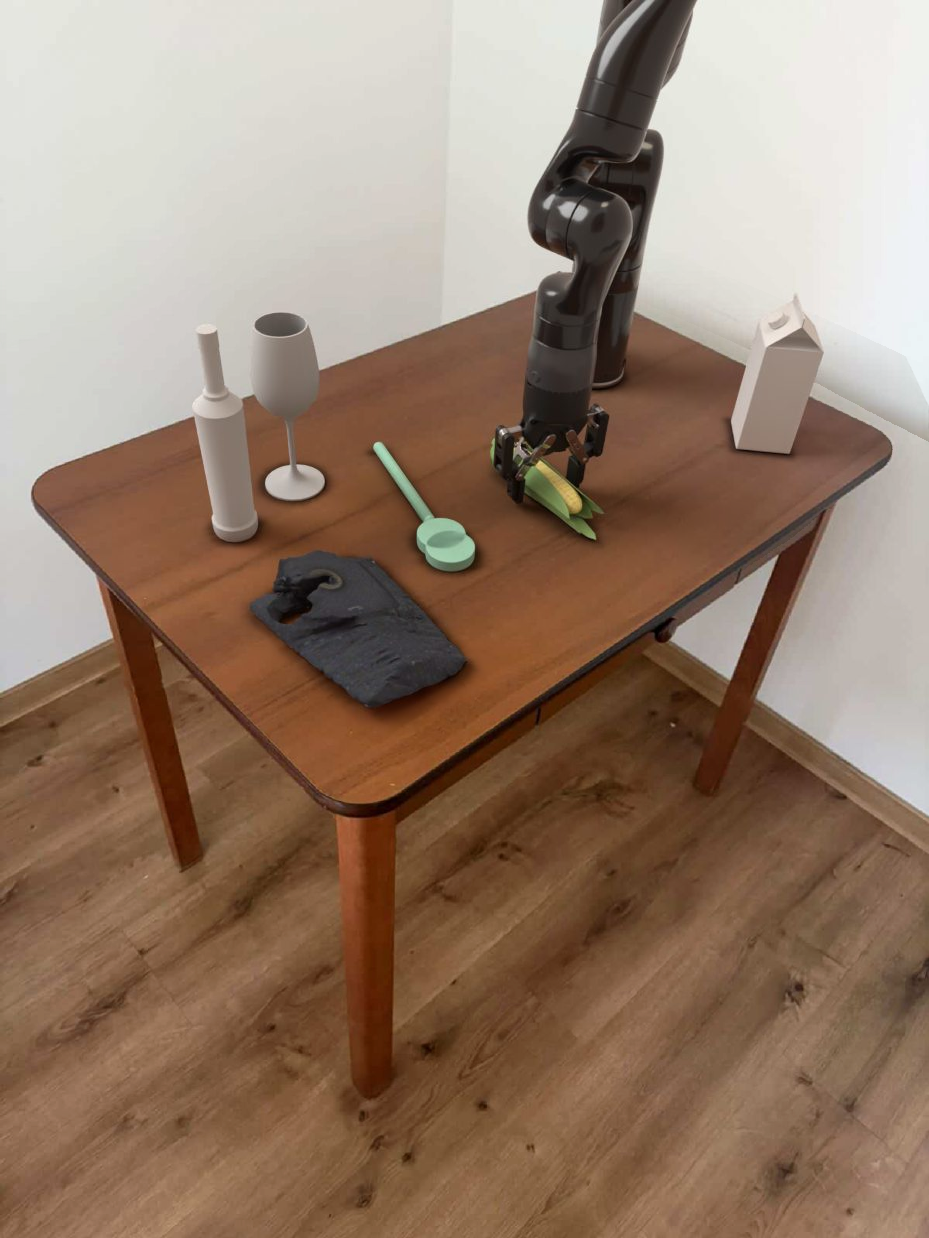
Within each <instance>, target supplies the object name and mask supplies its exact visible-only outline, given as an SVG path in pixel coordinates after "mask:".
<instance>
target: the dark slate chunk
mask: <svg viewBox="0 0 929 1238" xmlns="http://www.w3.org/2000/svg"><path fill="white" fill-rule="evenodd" d="M271 591H272V592H273V593H265V594H263V595H262V596H260V597H257V598H255V599H254V600H252V601H250V602H249V610H250V612H253V613H254V615H255V616H256V617H257V618H258V619H259V620H260V621H262V622H263V623H264V624H265V625H266V627H268V628H269V629H270V630H271V631H272V632H273V633H274V634H275V635H276V636H277V637H278V638H279V639H280V640H281V642H285V644H286V645H287V647H289V648H291V649H294V651H295V653H296V654H299V655H300V657H303V658H304V659H306V661H308V663H309V664H310V665H311V666H312V667H313V668H315V669H316V670H318V671H320V672H321V673H323V674H324V675H325V676H326V678H328V679H330V680H331V681H333V682H334V683H335V684H337V685H338V686H339V687H340V688H341V689H343V690H345V691H346V693H347V694H348V695H349V696H350V697H351V698H352V699H353V700H355V701H356V702H358V703H359V704H361V705H363V706H365V707H366V708H370V709H375V708H378V707H381V706H383V705H385V704H388V703H390V702H392V701H395V700H398V699H401V698H403V697H406V696H411V695H412V694H413V693H417V692H418V691H420V690H422V689H423V688H427V687H433V686H436V685H437V684H439V683H440V682H442V681H444V680H446V679H447V678H450V677H453V676H455V675H456V674H457V673H458V672H459V671H461V670H462V668H463V665H465V664H467V663H469V660H468V659H467V658H466V657H465V655H464V654H463V653H462V652H461V650H460V649H459V648H458V647H457V646H456V645H455V644H454V643H453V642H450V641H449V640H448V639H447V636H446V635H445V634H444V633H443V632H442V631H441V629H440V628H439V627H438V626H436V625H435V624H434V622H433V621H432V620H431V618H430V617H429V616H428V615H427V613H426V612H425V611H424V610H423V609H421V607H420V606H419V605H418V604H416V603H415V602H414V601H413V600H412V598H411V597H410V595H409V594H408V593H406V592H405V591H404V590H403V589H402V588H401V587H400V586H399V585H398V583H396V582H395V581H394V580H393V579H391V578H390V576H389V575H388V574H387V571H385V570H383V569H382V568H381V567H380V566H379V565H378V564H377V563H376V561H375V560H374V559H373V558H372V557H371V556H365V557H364V556H363V557H361V556H360V557H359V556H358V557H357V558H356V557H349V558H348V557H341V556H340V555H337V554H336V553H334V552H329V551H325V550H322V549H317V550H313V551H309V552H307V553H305V554H302V555H299V556H298V555H297V556H288V557H286V558H280V559H279V561H278V567H277V572H276V576H275V580H274V581H273V586H272V589H271ZM310 607H311V610H310V611H307V612H306V613H302V614H301V615H300V617H299V618H297V619H295V621H294V624H287V623H282V622H281V621H282V620H283V618H285V617H289V616H291V615H292V614H295V613H301V612H302V611H305V610H308V609H309V608H310Z"/></svg>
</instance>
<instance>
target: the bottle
mask: <svg viewBox="0 0 929 1238" xmlns="http://www.w3.org/2000/svg"><path fill="white" fill-rule="evenodd" d="M218 334H219V333H218V328H217V326H216V325H214V324H211V323H204V324H203V323H202V324H200V325H198V326H197V327H196V328H195V335H196V340H197V347H198V350H199V356H200V362H201V363H200V364H201V370H202V377H203V383H204V387H203V389H202V394H200V395H199V396H198V397H197V398H195V400H194V401H193V403H192V405H191V406H192V407H191V408H192V412H193V417H194V422H195V426H196V433H197V438H198V444H199V448H200V454H201V458H202V463H203V467H204V468H203V469H204V473H205V479H206V483H207V489H208V494H209V499H210V504H211V509H212V510H211V511H212V515H211V524H212V528H213V531H214V533H215V535H216V536H217V537H218V538H219V539H220V540H222V541H224V542H227V543H239V542H245V541H247V540H249V539H252V537H253V536H254V535H256V532H257V530H258V527H259V517H258V512H257V510H256V509H255V505H254V503H255V502H254V495H253V487H252V475H251V466H250V456H249V447H248V438H247V428H246V427H247V426H246V418H245V410H244V403H243V399H242V398H241V397H240V396H238V395H237V394H235V393H234V392H231V391H230V390H229V387H228V386H226V385H225V379H224V373H223V365H222V359H221V358H222V357H221V351H220V341H219V335H218Z"/></svg>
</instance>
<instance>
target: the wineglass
mask: <svg viewBox="0 0 929 1238" xmlns="http://www.w3.org/2000/svg"><path fill="white" fill-rule="evenodd" d="M249 348H250V350H249V377H250V383H251V387H252V388H251V389H252V391H253V392H252V393H253V395H254V397H255V398H256V400H257V402H258V403H259V405H260V406H261V407H263V408H264V409H265V410H266V411H267V412H268V413H270V414H272V415H274V416H276V417H278V418H279V419H282V420H283V421H284V423H285V427H286V435H287V443H288V453H289V454H288V455H289V464H288V465H283V466H280V467H278V468H275V469H274V470H272V471H271V472H270V473H269V474H268V475H267V476H266V478H265V481H264V482H265V483H264V486H265V489H266V491H267V492H268V494H269V495H270V496H272V497H273V498H276V499H278V500H282V501H287V502H301V501H305V500H306V501H307V500H309V499H311V498H314V497H315V496H317V495H319V494H320V493H321V492H322V491H323V489H324V487H325V482H326V481H325V477H324V475H323V473H322V472H321V471H320V470H319V469H317V468H315V467H312V466H310V465H305V464H298V463H297V456H296V445H295V433H294V421H295V420H296V418H299V417H300V416H301V415H303V414H304V413H306V412H307V411H308V410H309V409H310V408H311V407H312V405H313V404H314V403H315V401H316V399H317V397H318V394H319V391H320V368H319V363H318V356H317V352H316V347H315V342H314V339H313V335H312V332H311V328H310V326H309V323H308V320H307V319H306V318H305V317H304V316H302V315H301V314H298V313H295V312H291V311H272V312H267V313H263V314H261V315H259V316H258V317H257V318H255V319H254V320H253V321H252V326H251V333H250V346H249Z"/></svg>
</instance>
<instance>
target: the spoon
mask: <svg viewBox="0 0 929 1238" xmlns="http://www.w3.org/2000/svg"><path fill="white" fill-rule="evenodd" d="M373 451H374V453H376V455H377V457H378V458H379V459H380V461H381V462H382V464H383V466H384V467H385V469H386V470H387V472H389V474H390V476H391V478H392V479H393V480H394V482H395V483H396V484H397V486H398V487H399V489H400V490H401V492H402V493H403V495H404V496H405V498H406V499H407V501H408V503H410V505H411V507H412V509H414V511H415V512H416V514H417V516H418V518H420V520H421V521H422V523H421V524H420V525H419V526H418V528H417V530H416V544H417V547H418V549H419V551H421V552H422V553H423V554H425V559H426V561H427V562H428V564H429V565H430V566H432V567H433V568H434V569H437V570H439V571H444V572H458V571H462V570H465V569H467V568H468V567H470V566H471V565H472V564H473V563H474V560H475V556H476V544H475V541H474V540H473V539H472V538H471V537H470V536H468V534H466V529H465V528H464V526H463V525H462V524H461V523H459V522H457V520H453V519H450V518H446V517H435V516H434V515H433V513H432V512H431V510H430V509H429V508H428V506H427V504H426V503H425V502H424V500H423V499H422V497H421V496H420V495H419V493H418V492H417V490H416V489H415V487H414V486H413V484H412V483H411V482H410V480H409V479H408V477H407V476H406V475H405V473H404V471H403V470H402V469H401V467H400V466H399V465H398V463H397V461H396V460H395V459H394V457H393V456H392V454H391V453H390V451H389V450H388V449H387V447H386V446H385V444H384V443H382V441H377V442H374V444H373Z"/></svg>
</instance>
